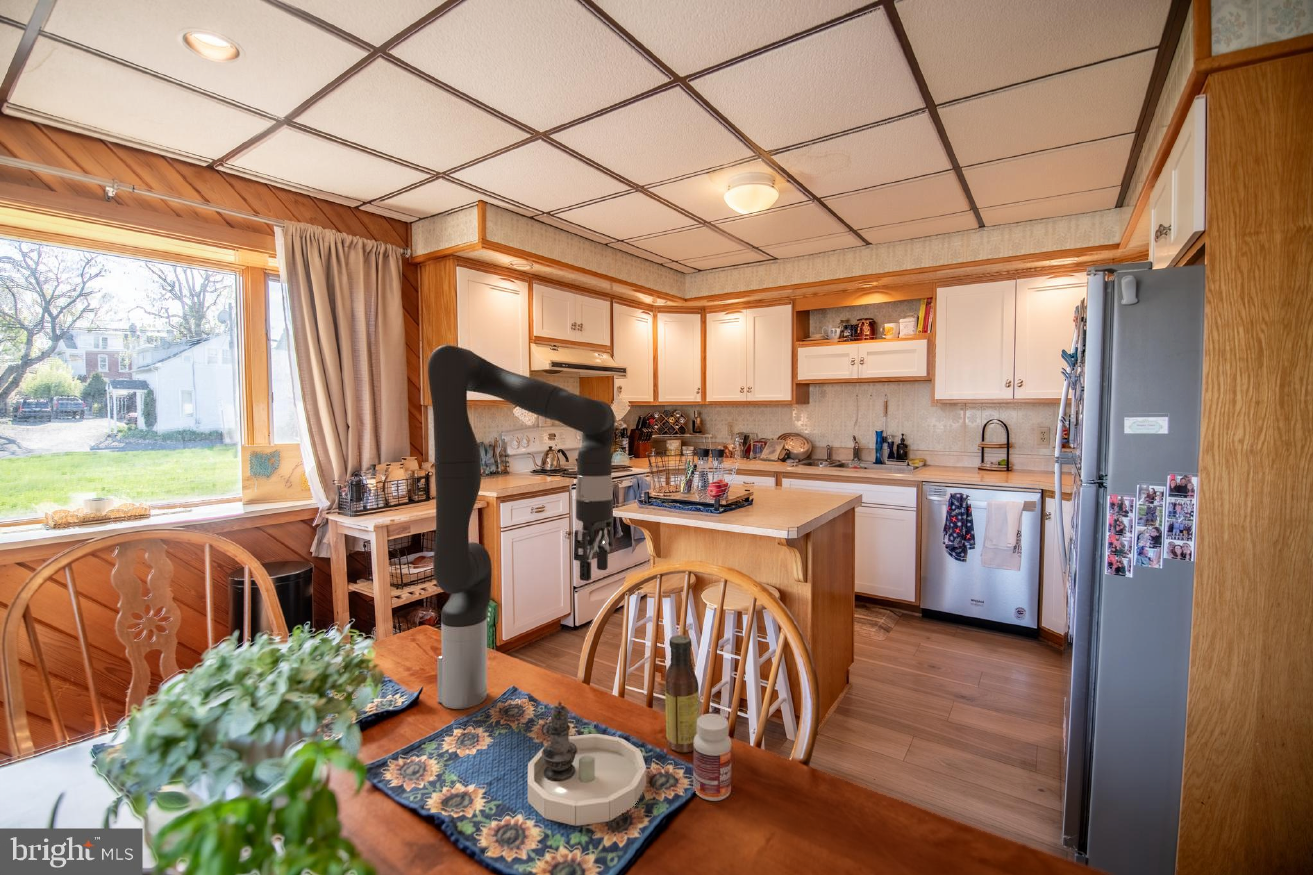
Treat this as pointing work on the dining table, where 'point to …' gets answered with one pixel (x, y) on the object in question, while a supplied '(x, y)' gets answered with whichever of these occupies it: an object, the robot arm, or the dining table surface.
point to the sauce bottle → (681, 696)
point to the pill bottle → (712, 758)
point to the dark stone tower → (559, 747)
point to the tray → (590, 782)
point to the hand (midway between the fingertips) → (594, 574)
